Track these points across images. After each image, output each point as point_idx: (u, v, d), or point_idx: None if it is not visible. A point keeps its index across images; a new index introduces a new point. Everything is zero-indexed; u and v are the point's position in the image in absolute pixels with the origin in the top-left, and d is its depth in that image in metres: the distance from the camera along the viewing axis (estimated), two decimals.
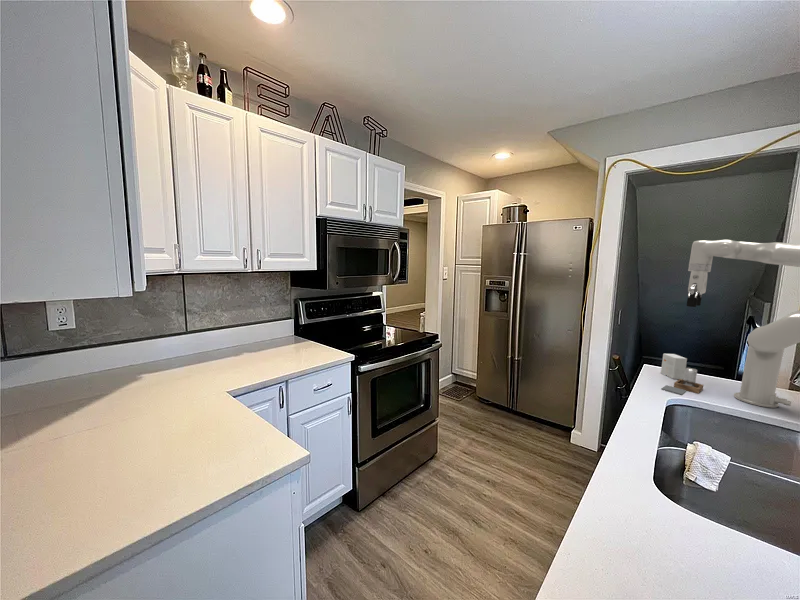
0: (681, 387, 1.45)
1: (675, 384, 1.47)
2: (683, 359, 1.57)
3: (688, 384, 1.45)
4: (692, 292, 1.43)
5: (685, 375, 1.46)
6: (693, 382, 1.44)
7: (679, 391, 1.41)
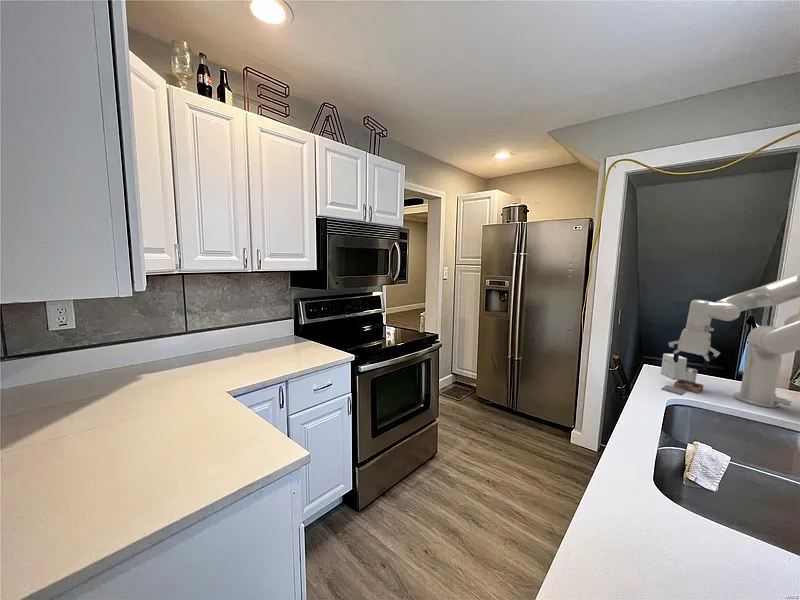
0: (681, 387, 1.45)
1: (675, 384, 1.47)
2: (683, 359, 1.57)
3: (688, 384, 1.45)
4: (716, 356, 1.39)
5: (685, 375, 1.46)
6: (693, 382, 1.44)
7: (679, 391, 1.41)
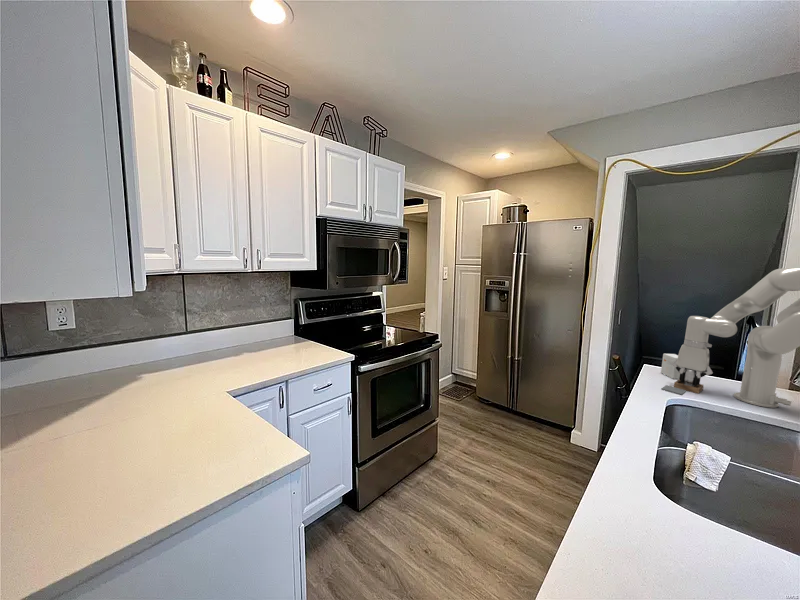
0: (681, 387, 1.45)
1: (675, 384, 1.47)
2: None
3: (688, 384, 1.45)
4: (707, 374, 1.41)
5: (685, 375, 1.46)
6: (693, 382, 1.44)
7: (679, 391, 1.41)
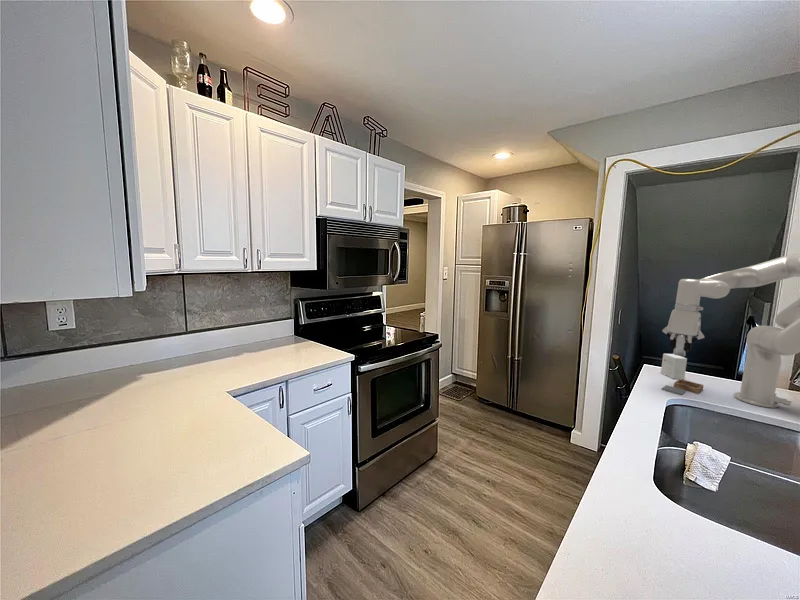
0: (681, 387, 1.45)
1: (675, 384, 1.47)
2: (683, 359, 1.57)
3: (679, 350, 1.40)
4: None
5: (676, 341, 1.41)
6: (684, 348, 1.39)
7: (679, 391, 1.41)
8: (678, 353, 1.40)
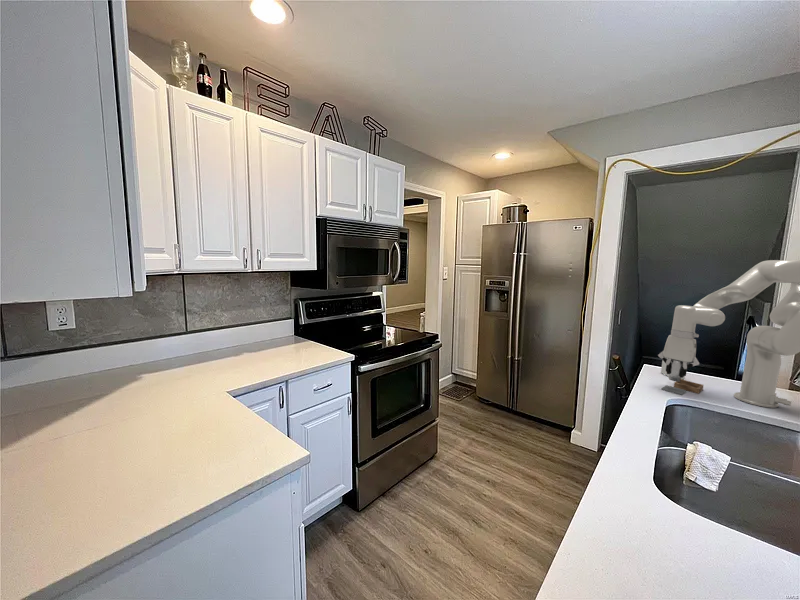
0: (681, 387, 1.45)
1: (675, 384, 1.47)
2: None
3: (674, 375, 1.41)
4: (694, 365, 1.37)
5: (671, 366, 1.42)
6: (679, 373, 1.40)
7: (679, 391, 1.41)
8: (673, 378, 1.41)
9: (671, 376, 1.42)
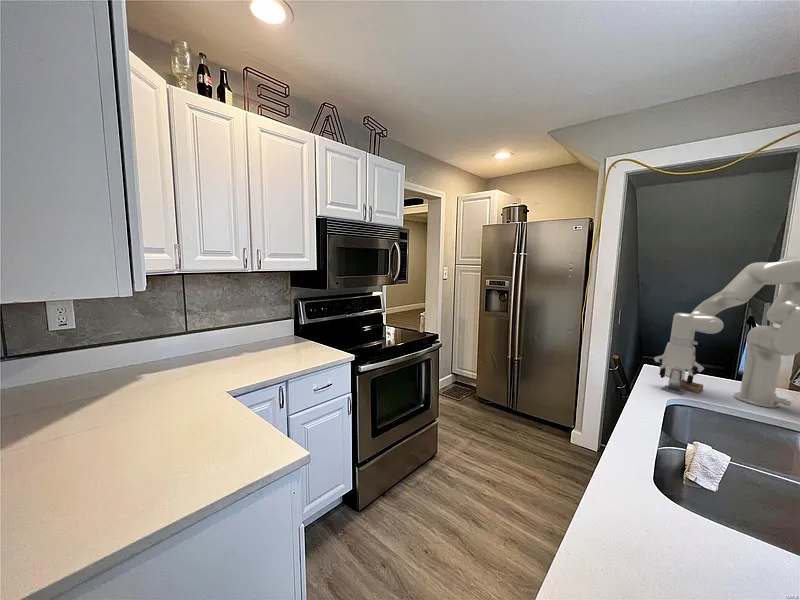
0: (681, 387, 1.45)
1: None
2: None
3: (674, 385, 1.42)
4: (700, 371, 1.36)
5: (671, 376, 1.43)
6: (679, 383, 1.41)
7: (679, 391, 1.41)
8: (673, 388, 1.42)
9: (671, 386, 1.43)
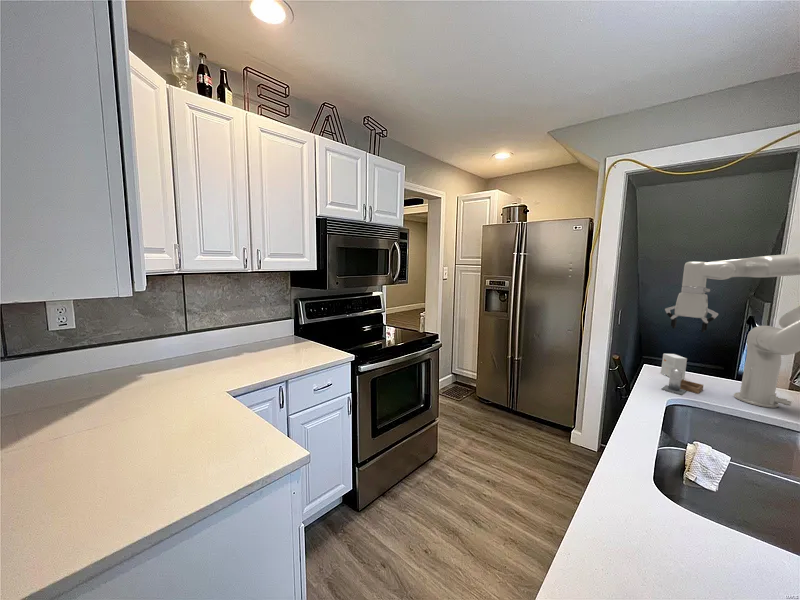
0: (681, 387, 1.45)
1: None
2: (683, 359, 1.57)
3: (674, 385, 1.42)
4: (715, 317, 1.35)
5: (671, 376, 1.43)
6: (679, 383, 1.41)
7: (679, 391, 1.41)
8: (673, 388, 1.42)
9: (671, 386, 1.43)
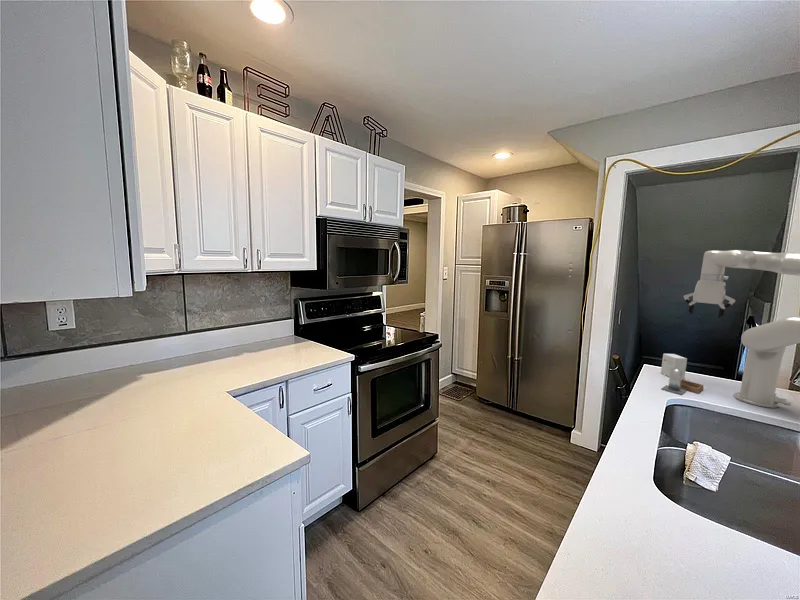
0: (681, 387, 1.45)
1: None
2: (683, 359, 1.57)
3: (674, 385, 1.42)
4: None
5: (671, 376, 1.43)
6: (679, 383, 1.41)
7: (679, 391, 1.41)
8: (673, 388, 1.42)
9: (671, 386, 1.43)
